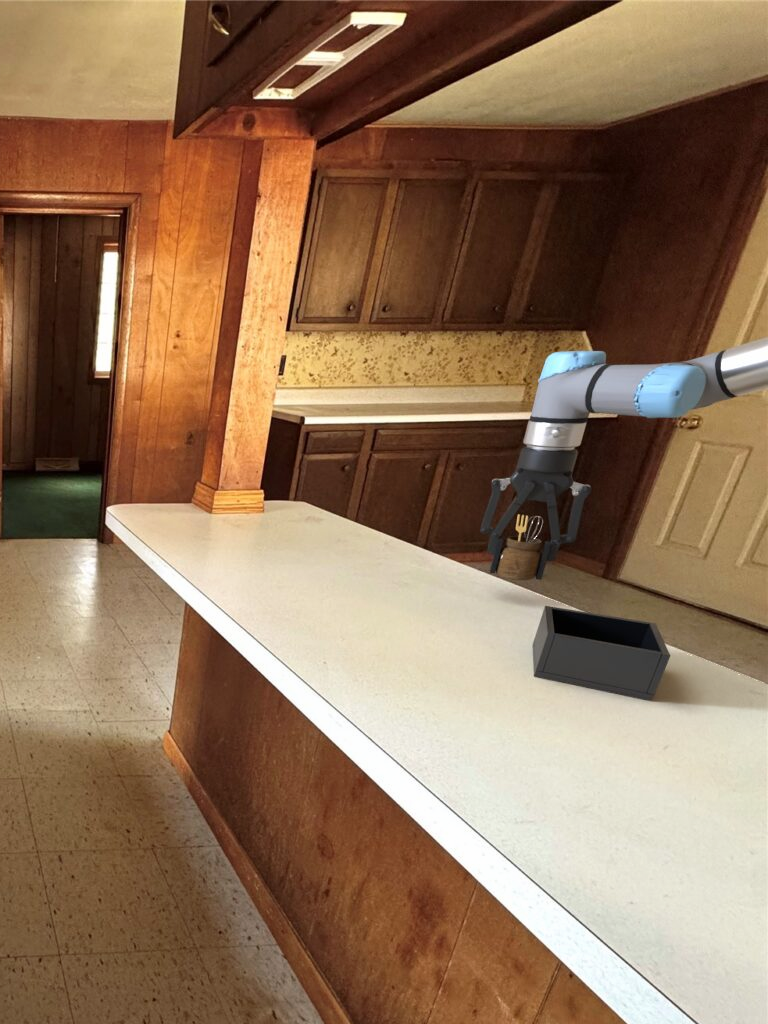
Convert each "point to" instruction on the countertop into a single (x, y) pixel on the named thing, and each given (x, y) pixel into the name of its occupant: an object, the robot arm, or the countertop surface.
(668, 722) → the countertop surface
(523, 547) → the utensil holder
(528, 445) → the robot arm
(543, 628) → the dark grey open box
